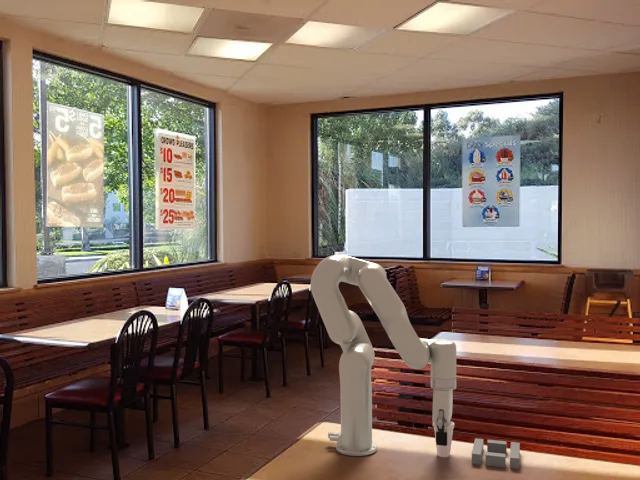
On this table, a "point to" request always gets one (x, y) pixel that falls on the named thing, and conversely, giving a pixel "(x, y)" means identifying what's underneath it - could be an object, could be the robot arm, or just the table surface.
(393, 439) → the table surface
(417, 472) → the table surface
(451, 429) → the smoothie
